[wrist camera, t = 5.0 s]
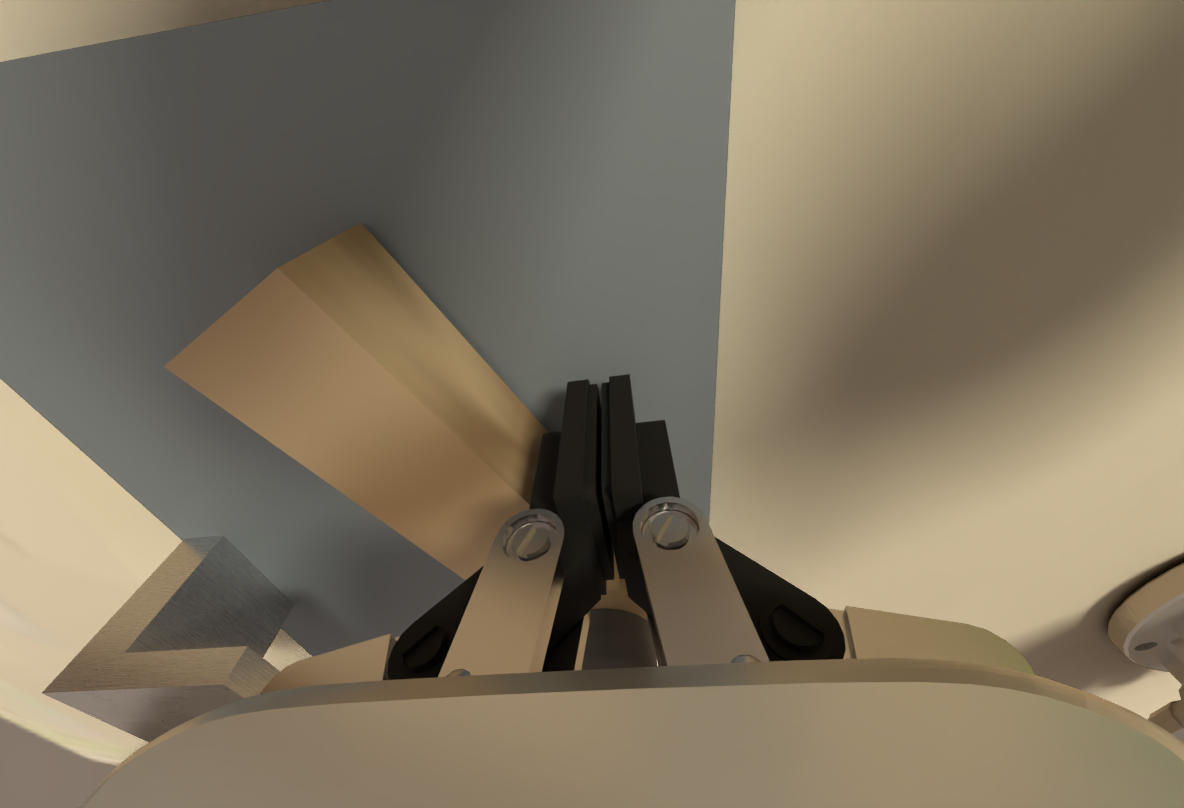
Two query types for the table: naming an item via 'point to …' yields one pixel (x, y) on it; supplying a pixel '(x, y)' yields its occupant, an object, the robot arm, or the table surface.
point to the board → (391, 214)
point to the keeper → (179, 643)
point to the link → (390, 412)
